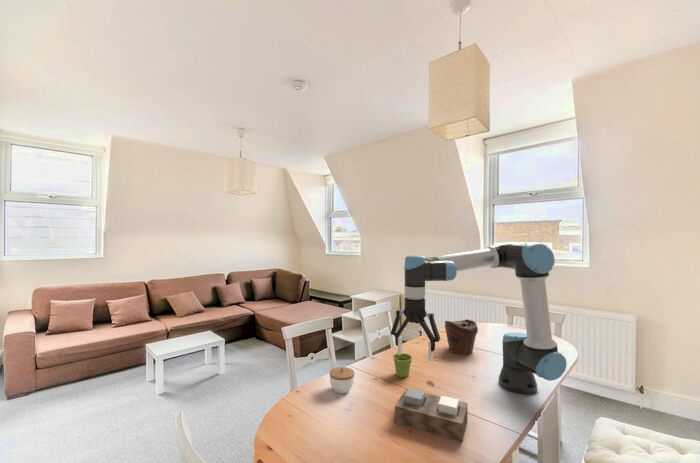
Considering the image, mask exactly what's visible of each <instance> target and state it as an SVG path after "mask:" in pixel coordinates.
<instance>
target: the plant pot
mask: <svg viewBox="0 0 700 463" xmlns="http://www.w3.org/2000/svg"><path fill="white" fill-rule="evenodd" d="M392 359H393V362H394V367H395V368H394V369H395V374H396V376H398V377H399V378H403V379H404V378H406V377H409V376H410V369H411V365H412V364H411V363H412V360H413V356H412V355H410V354H408V353H404V352H402V354H401V355H398V352H397V353H395V354H392Z"/></svg>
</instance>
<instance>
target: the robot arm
mask: <svg viewBox="0 0 700 463" xmlns="http://www.w3.org/2000/svg"><path fill="white" fill-rule="evenodd" d="M555 261H556V260H555V255H554V252H553V251H552V249H551V248H550V247H549V246H547V245H546V244H544V243H542V242H540V243H539V242H536V241H535V242H534V241H531V242H530V241H528V242H527V241H509V242H504V243H500V244H496V245H495V244H494V245H489V246H487V247H486V248H485V249H478V250H473V251H464V252H459V253H458V252H457V253H452V254H445V255H438V256H431V257H425V256H423V255H407V256H406V257H405V258H404V267H403V268H404V309H403V310H402V309H400V308H398V309H397V310H396V311H395V313H396V314H395V318H394V322H393V325H392V327H391V331H390V335H392V336H394V338H395V346H397V353H398V355H401V354H402V353H403V335H401V334H402V333H403V331H404V330H405V328H406V327H407V325H408V324H409V323H413V324H414V323H415V324H418V325H420V327H421V328H422V329H423V331H424V333H425V334H426V336H427V338H428V340H429V341H428V362H432V359H433V352H434V351H436V343H438V342H440V340H441V337H440V333H439V330H438V327H437V324H436V320H435V313H434V312H430V313H429V312H427V311H426V299H425V297H426V282H441V281H442V282H447V281H453V280H455V279H456V277H457V273H458V272H462V271H467V270H474V269H481V268H487V267H490V268H492V269H495V268H505V269H512V270H514V272H515V277H516V278H517V279H518V280H519V281H520V285H521V286H520V289H521V296H522V305H523V313H524V322H525V332H526V333H523V332H506V333H504V334H503V336H502V341H501V342H502V367H501V370H500V373H499V375H498V384H499V385H500V387H502V388H504V389H505V390H507V391H510V392H513V393H516V394H523V395H532V394H535V393H537V392H538V384H537V380H536V377H535V375H536V376H537V377H539V378H541V379H544V380H546V381H549V382H550V381H556V380H558V379H560V378H561V377H562V376H563V374H564V373H565V371H566V369H567V366H568V364H567V359H566V357H565V356H564V355H563V353H561V352H559V349H558V343H557V342H556V341H555V340H554V339H553V337H552V329H551V328H552V327H551V321H550V320H551V319H550V311H549V310H550V309H549V303H548V293H547V285H546V279H548V277H549V276H550V272H551V271H552V270H553V267H554V266H555ZM403 315H404V317H405V319H404V321H403V323H402V324H401V325H400V327H399V329H398V326H399V324H400V320H401V318H402V316H403ZM425 318H427V320H428V321H429V325H430V327H431V329H430V327H429V326H428V324H427V322H426V319H425ZM431 330H432V331H431ZM534 374H535V375H534Z"/></svg>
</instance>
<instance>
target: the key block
mask: <svg viewBox="0 0 700 463" xmlns="http://www.w3.org/2000/svg"><path fill="white" fill-rule="evenodd" d="M408 390H409V388H405V389H404V391H403V393H402V394H401V396H400V397H399V399H398V400H397V402H396V403H395V405H394V424H399V425H401V426H405V427H408V428H412V429H415V430H419V431H422V432H425V433H429V434H433V435H436V436H440V437H443V438H446V439H449V440H453V441H456V442H460V443H463V442H464V438H465V435H466V434H465V432H466V428H467V424H468V414H469V413H468V412H469V411H468V402H465V401H461V400H459V412H458V415H457V416H454V415H450V414H446V413H442V412H438V403H439V400H440V398H441V396H439V395H435V394H430V393H426V392H425V403H424V405H423V407H418V406H415V405H411V404H407V403H405V394H406V393H407V391H408Z"/></svg>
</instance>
